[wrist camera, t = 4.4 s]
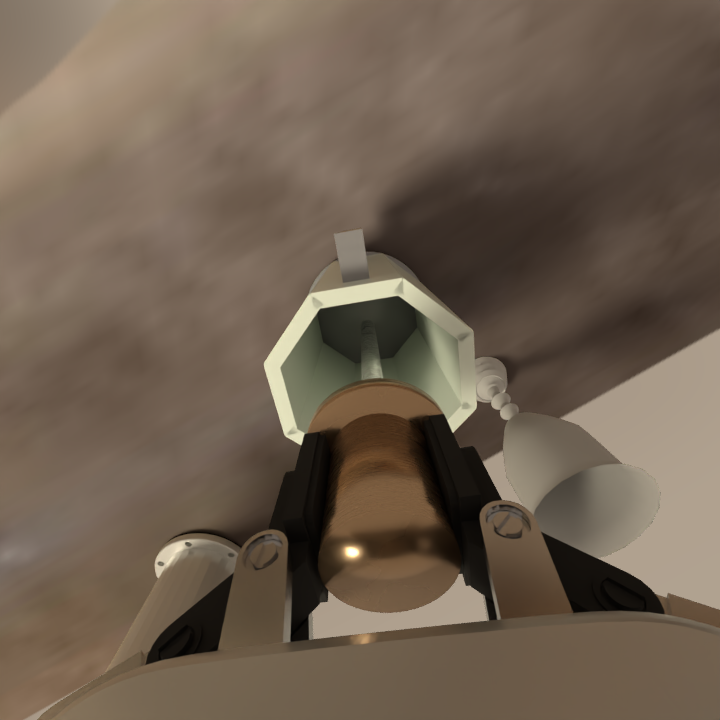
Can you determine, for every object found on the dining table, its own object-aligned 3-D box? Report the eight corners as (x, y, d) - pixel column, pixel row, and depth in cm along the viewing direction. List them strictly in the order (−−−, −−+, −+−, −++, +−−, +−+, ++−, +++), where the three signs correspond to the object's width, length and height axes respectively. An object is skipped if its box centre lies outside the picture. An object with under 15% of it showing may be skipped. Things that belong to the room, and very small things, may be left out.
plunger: (404, 352, 29) (503, 624, 9) (341, 362, 29) (305, 644, 10) (396, 288, 27) (501, 461, 7) (328, 300, 27) (250, 495, 8)
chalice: (475, 335, 34) (591, 444, 17) (530, 363, 35) (689, 491, 18) (437, 393, 36) (505, 539, 19) (489, 418, 37) (596, 575, 20)
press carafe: (431, 358, 34) (485, 459, 20) (320, 375, 35) (292, 485, 20) (417, 217, 29) (477, 208, 15) (289, 240, 30) (221, 254, 15)
